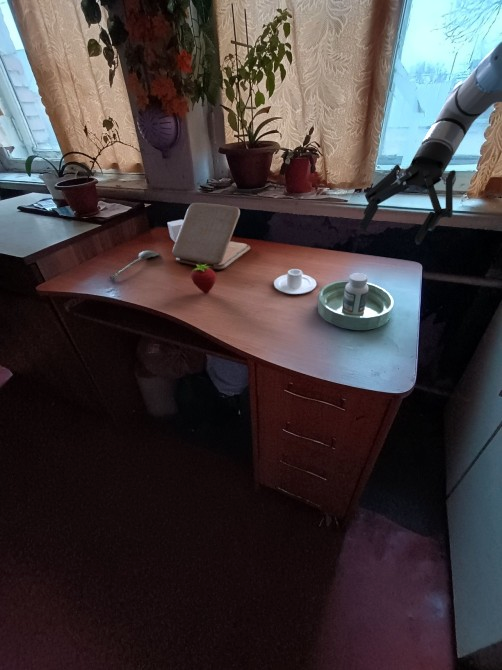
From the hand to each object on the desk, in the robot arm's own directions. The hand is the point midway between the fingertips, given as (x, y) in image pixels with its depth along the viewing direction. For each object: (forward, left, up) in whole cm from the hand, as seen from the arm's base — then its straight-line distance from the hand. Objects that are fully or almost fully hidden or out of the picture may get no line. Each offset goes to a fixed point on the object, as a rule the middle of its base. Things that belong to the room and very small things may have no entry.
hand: (388, 234), depth 73 cm
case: (+55, +5, -17) cm, 58 cm away
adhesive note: (+79, 0, -17) cm, 81 cm away
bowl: (+1, +10, -16) cm, 19 cm away
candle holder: (+20, +7, -17) cm, 27 cm away
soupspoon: (+71, +26, -17) cm, 78 cm away
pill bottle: (+1, +10, -16) cm, 19 cm away
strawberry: (+38, +25, -17) cm, 49 cm away
